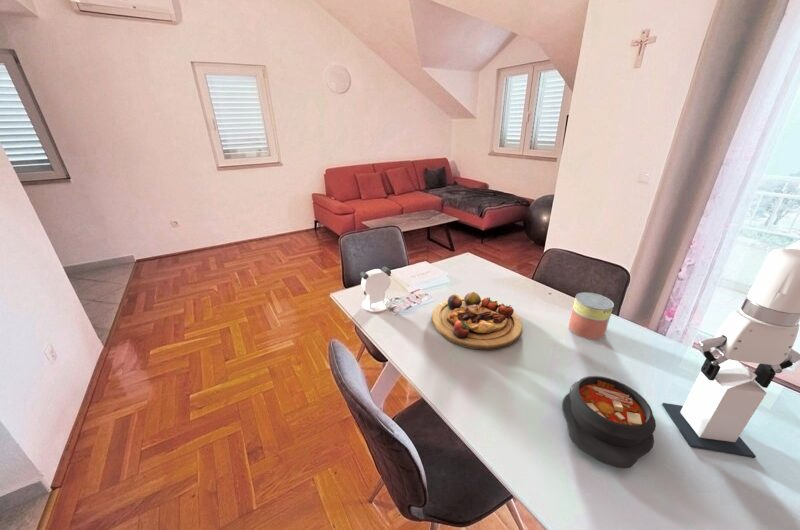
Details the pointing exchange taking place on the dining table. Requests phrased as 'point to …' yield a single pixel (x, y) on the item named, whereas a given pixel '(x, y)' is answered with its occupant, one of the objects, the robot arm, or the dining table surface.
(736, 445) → the mat
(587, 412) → the casserole
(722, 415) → the milk carton
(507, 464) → the dining table surface
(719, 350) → the robot arm
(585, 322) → the canned food
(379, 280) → the panda figurine
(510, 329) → the wooden plate
